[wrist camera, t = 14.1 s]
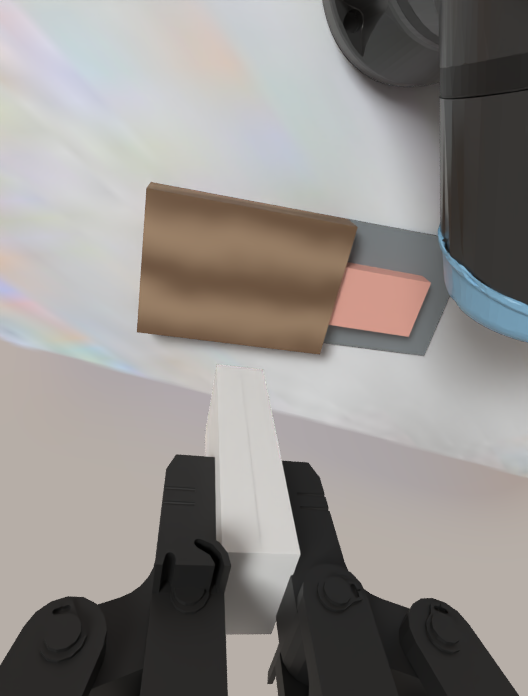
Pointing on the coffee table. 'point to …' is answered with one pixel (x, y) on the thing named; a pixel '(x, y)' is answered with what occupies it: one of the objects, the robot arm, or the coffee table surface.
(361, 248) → the mat
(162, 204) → the brown flat block
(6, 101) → the coffee table surface
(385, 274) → the pink rectangular block
